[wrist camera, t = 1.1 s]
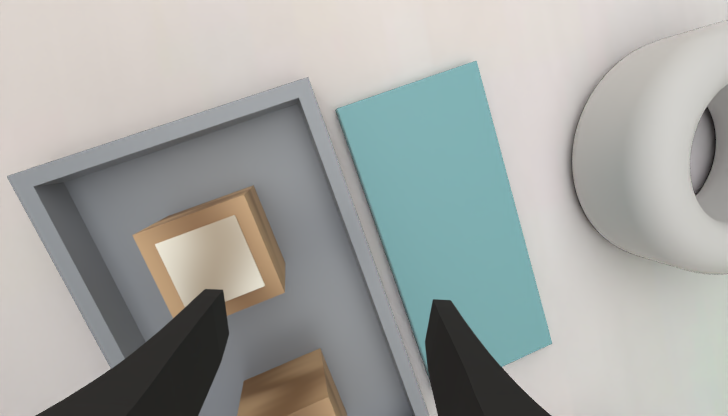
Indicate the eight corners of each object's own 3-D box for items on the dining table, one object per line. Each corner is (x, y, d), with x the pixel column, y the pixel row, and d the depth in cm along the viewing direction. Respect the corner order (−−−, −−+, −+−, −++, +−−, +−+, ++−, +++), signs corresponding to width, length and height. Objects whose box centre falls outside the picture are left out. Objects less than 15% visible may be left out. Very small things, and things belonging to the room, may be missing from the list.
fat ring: (679, 282, 30) (786, 318, 24) (526, 203, 27) (603, 220, 20) (771, 104, 29) (909, 91, 23) (627, -1, 26) (741, -51, 19)
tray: (222, 512, 25) (214, 559, 22) (46, 172, 21) (6, 176, 18) (425, 417, 27) (441, 449, 24) (305, 86, 23) (308, 76, 20)
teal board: (433, 389, 27) (437, 396, 26) (335, 110, 23) (337, 108, 22) (544, 338, 28) (552, 343, 27) (470, 63, 24) (476, 60, 23)
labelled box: (203, 294, 23) (180, 335, 18) (167, 216, 22) (131, 235, 17) (285, 262, 23) (284, 293, 18) (253, 185, 22) (243, 195, 17)
